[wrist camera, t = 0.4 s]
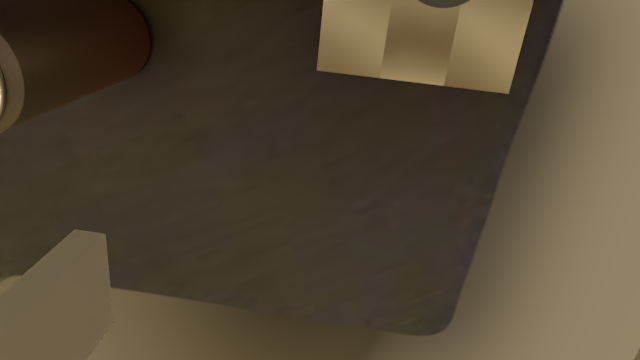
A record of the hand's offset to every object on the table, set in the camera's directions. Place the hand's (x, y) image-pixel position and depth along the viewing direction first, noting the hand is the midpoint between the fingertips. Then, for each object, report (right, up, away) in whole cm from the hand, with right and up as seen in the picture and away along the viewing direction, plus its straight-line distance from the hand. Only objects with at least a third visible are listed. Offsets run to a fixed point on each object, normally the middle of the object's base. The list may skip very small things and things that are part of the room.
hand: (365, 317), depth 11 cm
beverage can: (-16, +14, +22) cm, 30 cm away
